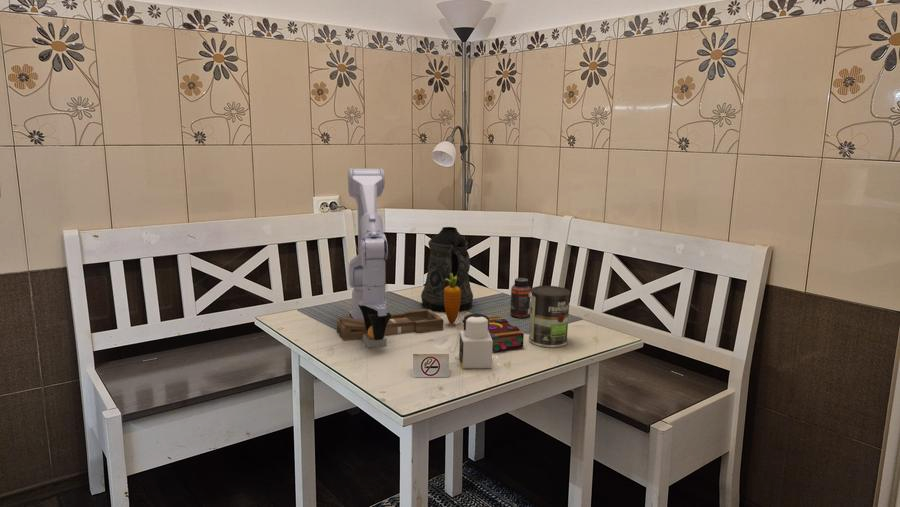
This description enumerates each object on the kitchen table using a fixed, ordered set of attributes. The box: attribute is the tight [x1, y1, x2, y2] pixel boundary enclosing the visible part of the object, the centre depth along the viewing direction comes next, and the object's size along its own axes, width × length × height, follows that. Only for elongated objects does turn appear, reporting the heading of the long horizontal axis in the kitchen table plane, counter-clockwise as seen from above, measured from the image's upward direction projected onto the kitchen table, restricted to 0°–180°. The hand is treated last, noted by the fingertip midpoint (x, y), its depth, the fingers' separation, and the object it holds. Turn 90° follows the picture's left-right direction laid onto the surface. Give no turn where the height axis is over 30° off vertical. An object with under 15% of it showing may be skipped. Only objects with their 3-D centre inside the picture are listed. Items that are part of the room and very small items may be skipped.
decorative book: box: [462, 316, 525, 355], centre depth 161 cm, size 11×16×5 cm
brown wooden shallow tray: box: [336, 309, 444, 341], centre depth 169 cm, size 10×28×4 cm, turn 113°
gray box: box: [362, 334, 388, 349], centre depth 158 cm, size 5×5×2 cm
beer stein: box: [420, 226, 474, 314], centre depth 190 cm, size 16×19×25 cm
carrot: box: [444, 273, 461, 326], centre depth 173 cm, size 5×5×15 cm
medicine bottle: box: [458, 312, 493, 370], centre depth 146 cm, size 7×7×12 cm
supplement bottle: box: [510, 277, 532, 319], centre depth 183 cm, size 6×6×11 cm
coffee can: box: [528, 285, 571, 348], centre depth 162 cm, size 10×10×14 cm
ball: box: [368, 326, 374, 339], centre depth 158 cm, size 4×4×4 cm
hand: (374, 334), depth 158 cm, fingers open, 7 cm apart
